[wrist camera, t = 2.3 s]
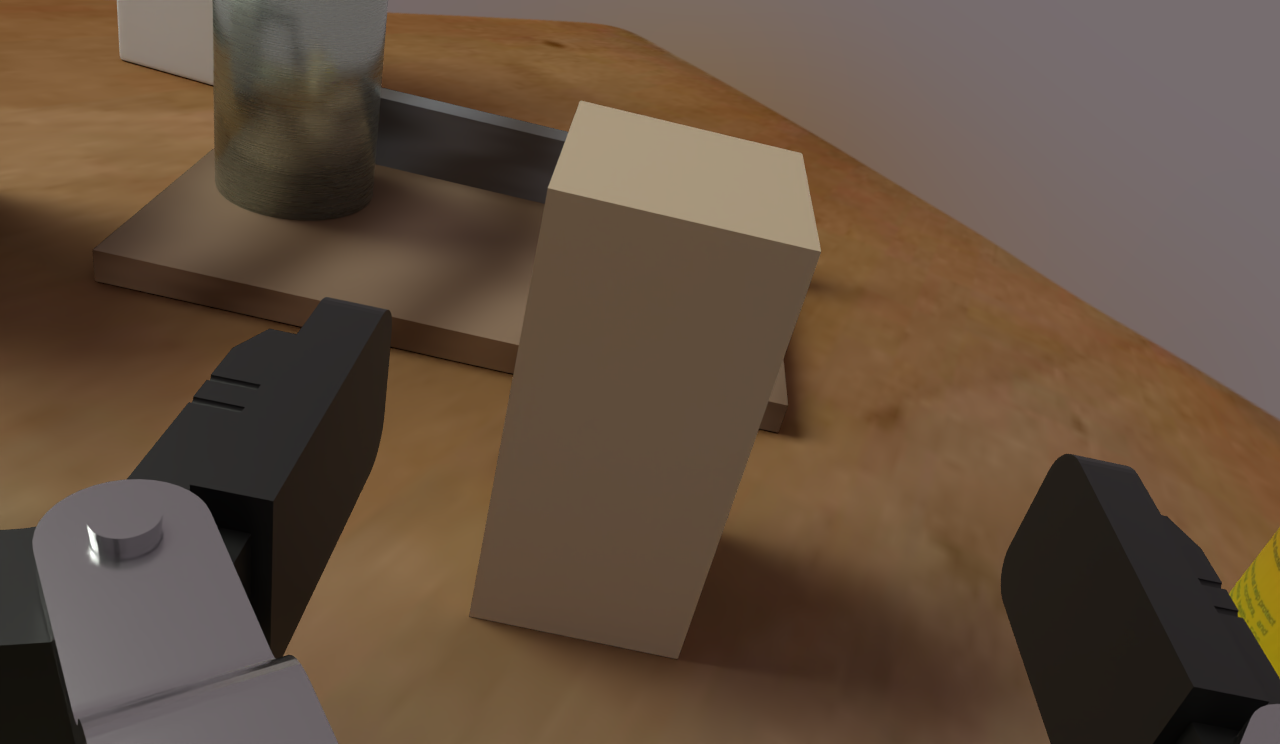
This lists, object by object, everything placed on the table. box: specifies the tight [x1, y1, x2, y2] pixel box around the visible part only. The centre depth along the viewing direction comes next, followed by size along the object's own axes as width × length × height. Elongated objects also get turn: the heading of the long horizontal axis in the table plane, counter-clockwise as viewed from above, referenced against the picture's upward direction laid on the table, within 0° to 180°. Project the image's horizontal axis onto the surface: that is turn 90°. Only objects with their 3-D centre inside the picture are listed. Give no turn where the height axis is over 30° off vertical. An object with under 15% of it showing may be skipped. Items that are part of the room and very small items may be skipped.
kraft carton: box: [469, 101, 821, 659], centre depth 26 cm, size 6×6×12 cm
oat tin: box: [212, 0, 388, 221], centre depth 38 cm, size 6×6×10 cm
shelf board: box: [93, 88, 788, 433], centre depth 40 cm, size 24×13×4 cm, turn 86°
